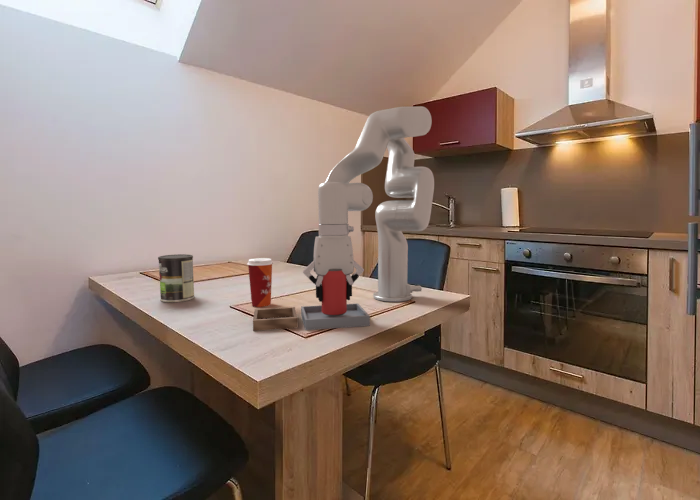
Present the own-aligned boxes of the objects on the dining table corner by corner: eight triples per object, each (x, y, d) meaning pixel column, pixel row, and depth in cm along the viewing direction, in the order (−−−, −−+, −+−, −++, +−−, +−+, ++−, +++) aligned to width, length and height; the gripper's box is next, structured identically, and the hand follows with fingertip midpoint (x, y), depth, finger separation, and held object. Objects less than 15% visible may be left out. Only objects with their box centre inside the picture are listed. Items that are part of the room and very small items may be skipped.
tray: (358, 312, 106) (358, 303, 106) (369, 325, 94) (369, 316, 93) (301, 315, 103) (301, 306, 103) (305, 330, 90) (305, 320, 90)
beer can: (317, 315, 96) (316, 269, 95) (328, 308, 102) (327, 265, 101) (340, 317, 94) (340, 270, 93) (350, 311, 100) (350, 266, 99)
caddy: (295, 315, 102) (294, 307, 102) (297, 327, 92) (297, 317, 92) (255, 318, 100) (254, 309, 100) (253, 330, 90) (252, 320, 90)
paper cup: (271, 308, 111) (269, 261, 109) (245, 307, 111) (243, 261, 110) (276, 301, 119) (275, 257, 117) (252, 301, 119) (251, 257, 117)
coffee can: (166, 304, 116) (163, 259, 114) (156, 298, 123) (153, 256, 122) (199, 298, 123) (197, 256, 121) (188, 293, 130) (186, 253, 129)
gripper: (362, 229, 101) (362, 294, 103) (298, 230, 98) (299, 298, 100) (369, 231, 94) (369, 301, 96) (300, 232, 90) (301, 305, 92)
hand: (334, 299), depth 98 cm, fingers closed on beer can, 6 cm apart
